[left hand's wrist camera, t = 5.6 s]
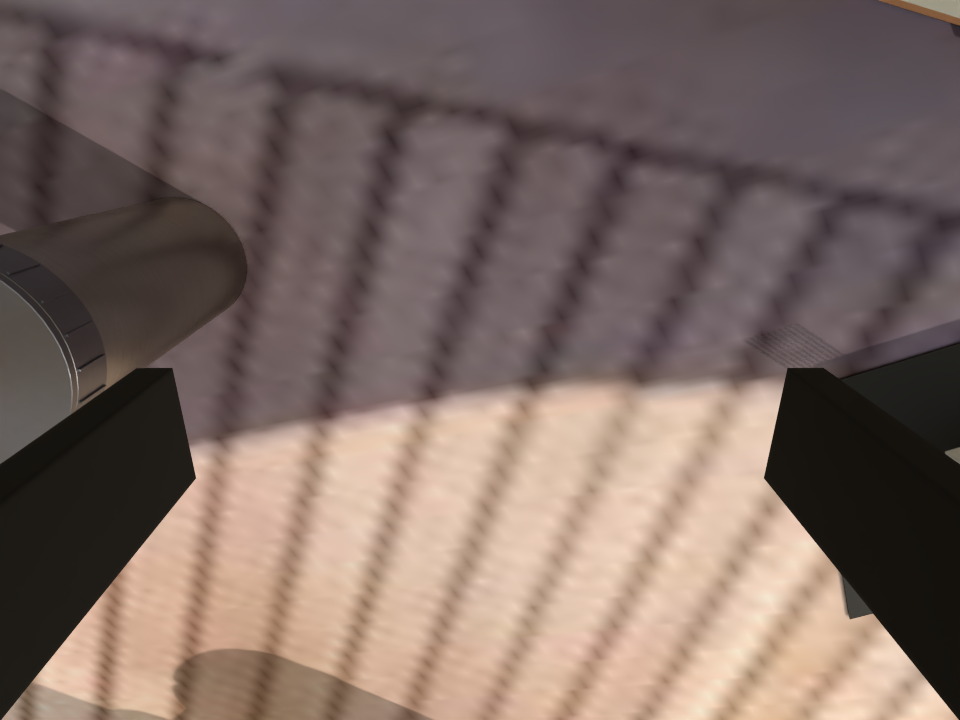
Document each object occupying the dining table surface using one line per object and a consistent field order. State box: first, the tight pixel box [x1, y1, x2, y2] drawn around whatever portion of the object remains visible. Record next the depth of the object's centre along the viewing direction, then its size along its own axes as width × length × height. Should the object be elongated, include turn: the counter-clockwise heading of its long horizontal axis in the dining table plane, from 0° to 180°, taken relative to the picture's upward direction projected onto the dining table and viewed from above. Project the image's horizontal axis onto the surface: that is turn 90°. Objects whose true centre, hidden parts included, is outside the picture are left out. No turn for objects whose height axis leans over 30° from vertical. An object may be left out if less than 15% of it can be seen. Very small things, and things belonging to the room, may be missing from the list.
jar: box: [0, 197, 247, 391], centre depth 31 cm, size 8×8×19 cm
